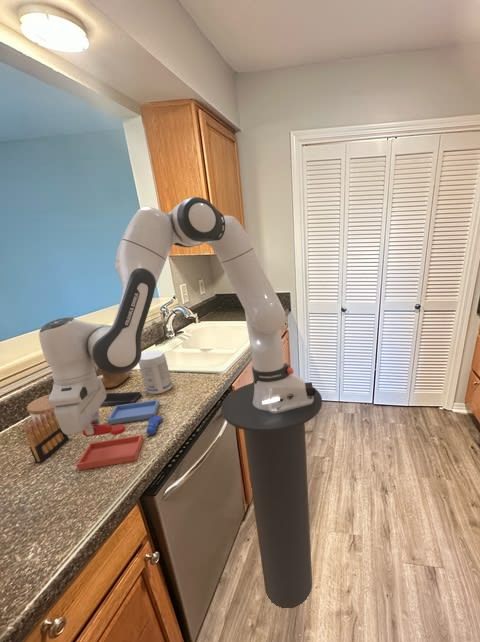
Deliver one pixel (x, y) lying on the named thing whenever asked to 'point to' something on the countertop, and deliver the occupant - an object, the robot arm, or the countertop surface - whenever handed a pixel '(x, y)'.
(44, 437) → the ammunition clip
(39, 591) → the countertop surface
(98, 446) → the red tray
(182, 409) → the countertop surface
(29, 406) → the lidded bowl
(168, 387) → the supplement tub
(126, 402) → the phone
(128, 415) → the blue tray
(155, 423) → the blue lumpy bar
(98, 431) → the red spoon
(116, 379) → the boot
